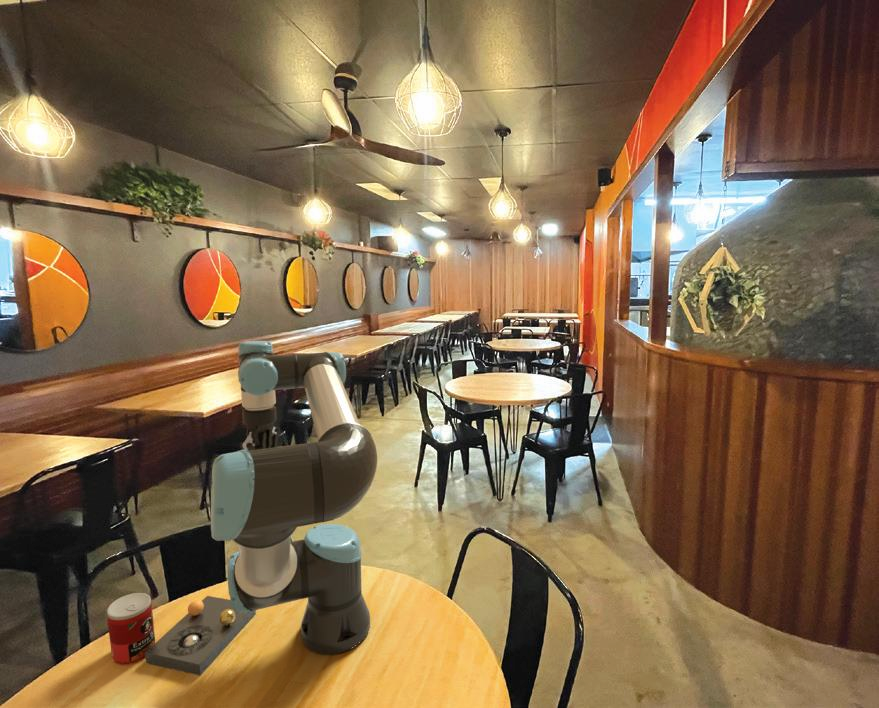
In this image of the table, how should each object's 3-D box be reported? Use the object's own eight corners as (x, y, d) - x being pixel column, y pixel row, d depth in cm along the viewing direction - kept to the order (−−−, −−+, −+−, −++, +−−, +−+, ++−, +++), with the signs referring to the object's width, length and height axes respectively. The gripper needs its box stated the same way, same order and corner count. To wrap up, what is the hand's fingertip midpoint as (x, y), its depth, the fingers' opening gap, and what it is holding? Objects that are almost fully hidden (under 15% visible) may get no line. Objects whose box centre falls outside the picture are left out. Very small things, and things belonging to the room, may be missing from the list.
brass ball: (238, 620, 105) (237, 607, 105) (229, 630, 102) (228, 616, 102) (226, 617, 106) (225, 604, 105) (216, 627, 103) (215, 614, 102)
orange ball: (207, 610, 108) (206, 597, 108) (197, 620, 105) (196, 607, 105) (195, 608, 109) (194, 595, 109) (185, 617, 106) (183, 604, 105)
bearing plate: (255, 614, 111) (255, 604, 110) (200, 675, 93) (199, 664, 93) (208, 605, 114) (207, 595, 113) (146, 663, 96) (144, 652, 96)
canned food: (135, 669, 95) (130, 619, 93) (102, 662, 97) (96, 614, 95) (164, 641, 102) (160, 594, 101) (133, 635, 104) (128, 590, 102)
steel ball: (199, 652, 100) (205, 636, 101) (189, 656, 97) (196, 638, 98) (186, 647, 101) (193, 631, 102) (177, 650, 98) (183, 633, 99)
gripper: (261, 398, 119) (266, 487, 122) (226, 412, 106) (233, 511, 110) (288, 400, 117) (292, 490, 120) (256, 414, 104) (262, 514, 108)
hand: (264, 500), depth 115 cm, fingers closed
